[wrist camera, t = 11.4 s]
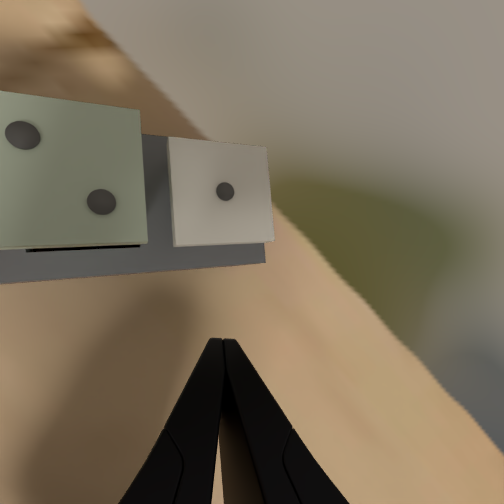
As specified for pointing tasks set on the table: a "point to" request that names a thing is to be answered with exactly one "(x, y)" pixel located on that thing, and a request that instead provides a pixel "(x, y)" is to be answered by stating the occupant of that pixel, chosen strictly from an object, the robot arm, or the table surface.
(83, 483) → the table surface
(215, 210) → the key one dot
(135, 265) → the key console
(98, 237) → the key two dots
